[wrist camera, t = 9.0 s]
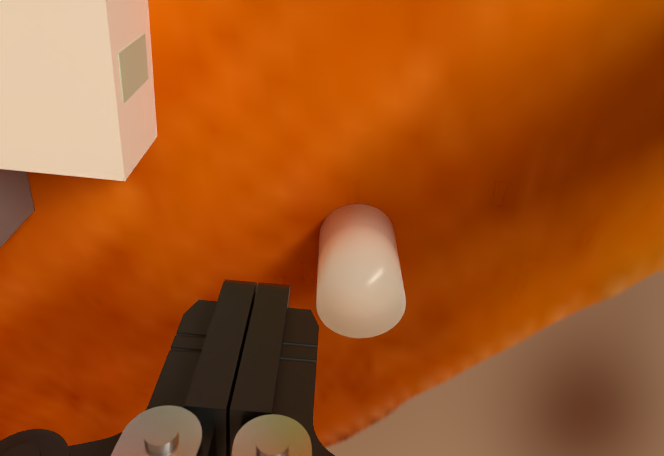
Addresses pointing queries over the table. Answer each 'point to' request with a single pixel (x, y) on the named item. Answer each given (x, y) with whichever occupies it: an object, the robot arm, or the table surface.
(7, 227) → the plinth
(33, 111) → the carton
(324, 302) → the cream round-ended cylinder
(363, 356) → the table surface
